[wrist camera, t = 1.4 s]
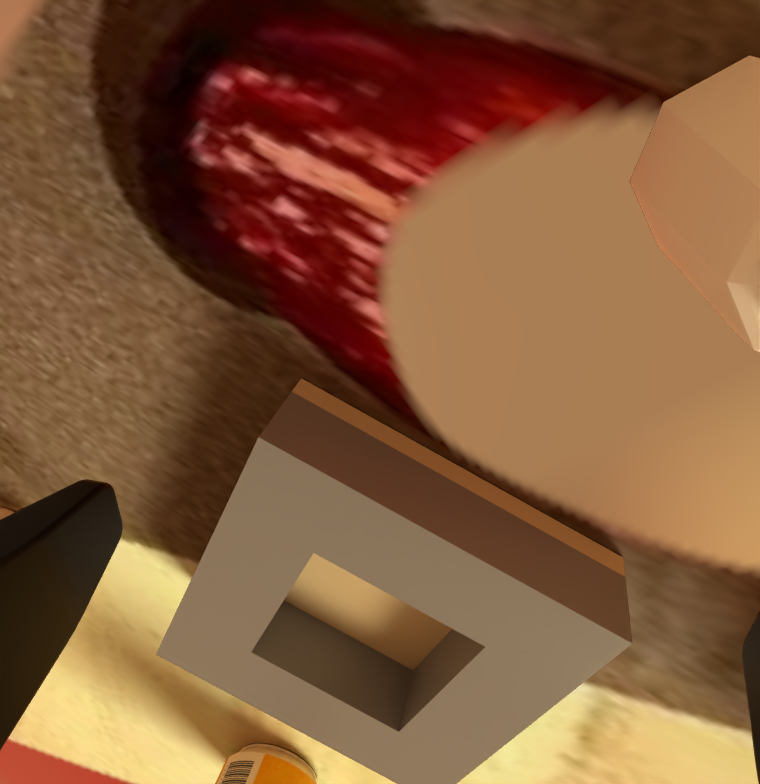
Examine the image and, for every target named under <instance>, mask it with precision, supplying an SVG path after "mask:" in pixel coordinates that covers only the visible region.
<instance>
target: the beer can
mask: <svg viewBox="0 0 760 784" xmlns="http://www.w3.org/2000/svg"><path fill="white" fill-rule="evenodd" d="M215 784H317V777H316V775H315V773H314V771H313V769H312V768H311V767H310V766H309V765H308V764H307V763H306V762H305V761H304V760H303V759H301V758H300V757H298V756H297V755H295V754H294V753H292V752H290V751H288V750H285V749H283V748H280V747H277V746H274V745H269V744H251V745H248V746H245V747H244V748H242V749H241V750H240V752H238V753H235V754H233V755H231V756H230V757H229V758H228V759H227V760H226V761H225V764H224V766H223V768H222V770H221V772H220V775H219V777H218V779H217V781H216V783H215Z"/></svg>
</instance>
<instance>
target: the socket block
mask: <svg viewBox="0 0 760 784" xmlns="http://www.w3.org/2000/svg"><path fill="white" fill-rule="evenodd" d="M631 644H632V636H631V626H630V617H629V607H628V598H627V588H626V579H625V570H624V560H623V557H621V556H619V555H618V554H616V553H614V552H612V551H610V550H609V549H607V548H605V547H603V546H601V545H600V544H598V543H596V542H594V541H592V540H591V539H589V538H587V537H585V536H583V535H582V534H580V533H578V532H576V531H574V530H573V529H571V528H569V527H567V526H565V525H564V524H562V523H560V522H558V521H557V520H555V519H553V518H551V517H549V516H548V515H546V514H544V513H542V512H540V511H539V510H537V509H535V508H533V507H531V506H530V505H528V504H526V503H524V502H522V501H521V500H519V499H517V498H515V497H513V496H512V495H510V494H508V493H506V492H504V491H503V490H501V489H499V488H497V487H496V486H494V485H492V484H490V483H488V482H487V481H485V480H483V479H481V478H479V477H478V476H476V475H474V474H472V473H470V472H469V471H467V470H465V469H463V468H461V467H460V466H458V465H456V464H454V463H452V462H451V461H449V460H447V459H445V458H443V457H442V456H440V455H438V454H436V453H434V452H433V451H431V450H429V449H427V448H426V447H424V446H422V445H420V444H418V443H417V442H415V441H413V440H411V439H409V438H408V437H406V436H404V435H402V434H400V433H399V432H397V431H395V430H393V429H391V428H390V427H388V426H386V425H384V424H382V423H381V422H379V421H377V420H375V419H373V418H372V417H370V416H368V415H366V414H365V413H363V412H361V411H359V410H357V409H356V408H354V407H352V406H350V405H348V404H347V403H345V402H343V401H341V400H339V399H338V398H336V397H334V396H332V395H330V394H329V393H327V392H325V391H323V390H321V389H320V388H318V387H316V386H314V385H312V384H311V383H309V382H307V381H305V380H304V379H302V378H301V379H300V381H299V382H298V383H297V385H296V386H295V388H294V389H293V390H292V392H291V393H290V394H289V396H288V397H287V399H286V400H285V401H284V403H283V404H282V405H281V407H280V408H279V410H278V411H277V412H276V414H275V415H274V416H273V418H272V419H271V421H270V422H269V423H268V425H267V426H266V428H265V429H264V430H263V432H262V433H261V434H260V436H259V437H258V439H257V441H256V444H255V446H254V448H253V450H252V452H251V454H250V456H249V458H248V460H247V463H246V465H245V467H244V469H243V471H242V473H241V475H240V477H239V480H238V482H237V484H236V486H235V488H234V490H233V492H232V494H231V497H230V499H229V501H228V503H227V505H226V507H225V509H224V511H223V514H222V516H221V518H220V520H219V522H218V524H217V526H216V528H215V530H214V533H213V535H212V537H211V539H210V541H209V543H208V545H207V547H206V550H205V552H204V554H203V556H202V558H201V560H200V562H199V564H198V567H197V569H196V571H195V573H194V575H193V577H192V579H191V581H190V584H189V586H188V588H187V590H186V592H185V594H184V596H183V598H182V600H181V603H180V605H179V607H178V609H177V611H176V613H175V615H174V617H173V620H172V622H171V624H170V626H169V628H168V630H167V632H166V634H165V637H164V639H163V641H162V643H161V645H160V647H159V649H158V651H157V654H156V655H158V656H160V657H162V658H164V659H166V660H167V661H169V662H171V663H173V664H175V665H177V666H179V667H180V668H182V669H184V670H186V671H188V672H190V673H192V674H194V675H195V676H197V677H199V678H201V679H203V680H205V681H207V682H208V683H210V684H212V685H214V686H216V687H218V688H220V689H222V690H223V691H225V692H227V693H229V694H231V695H233V696H235V697H236V698H238V699H240V700H242V701H244V702H246V703H248V704H250V705H251V706H253V707H255V708H257V709H259V710H261V711H263V712H264V713H266V714H268V715H270V716H272V717H274V718H276V719H278V720H279V721H281V722H283V723H285V724H287V725H289V726H291V727H292V728H294V729H296V730H298V731H300V732H302V733H304V734H306V735H307V736H309V737H311V738H313V739H315V740H317V741H319V742H321V743H322V744H324V745H326V746H328V747H330V748H332V749H334V750H335V751H337V752H339V753H341V754H343V755H345V756H347V757H349V758H350V759H352V760H354V761H356V762H358V763H360V764H362V765H363V766H365V767H367V768H369V769H371V770H373V771H375V772H377V773H378V774H380V775H382V776H384V777H386V778H388V779H390V780H391V781H393V782H395V783H397V784H456V783H458V782H459V781H460V780H461V779H463V778H464V777H465V776H466V775H468V774H469V773H470V772H471V771H473V770H474V769H475V768H476V767H478V766H479V765H480V764H482V763H483V762H484V761H485V760H487V759H488V758H489V757H490V756H492V755H493V754H494V753H495V752H497V751H498V750H499V749H500V748H502V747H503V746H504V745H505V744H507V743H508V742H509V741H510V740H512V739H513V738H514V737H515V736H517V735H518V734H519V733H520V732H522V731H523V730H524V729H526V728H527V727H528V726H529V725H531V724H532V723H533V722H534V721H536V720H537V719H538V718H539V717H541V716H542V715H543V714H544V713H546V712H547V711H548V710H549V709H551V708H552V707H553V706H554V705H556V704H557V703H558V702H559V701H561V700H562V699H563V698H564V697H566V696H567V695H568V694H570V693H571V692H572V691H573V690H575V689H576V688H577V687H578V686H580V685H581V684H582V683H583V682H585V681H586V680H587V679H588V678H590V677H591V676H592V675H593V674H595V673H596V672H597V671H598V670H600V669H601V668H602V667H603V666H605V665H606V664H607V663H609V662H610V661H611V660H612V659H614V658H615V657H616V656H617V655H619V654H620V653H621V652H622V651H624V650H625V649H626V648H627V647H629V646H630V645H631Z"/></svg>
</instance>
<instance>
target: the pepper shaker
mask: <svg viewBox="0 0 760 784" xmlns="http://www.w3.org/2000/svg"><path fill="white" fill-rule="evenodd" d="M630 183H631V186H632V188H633V190H634V193H635V195H636V197H637V200H638V202H639V204H640V206H641V209H642V211H643V213H644V215H645V218H646V220H647V222H648V225H649V227H650V229H651V232H652V234H653V236H654V239H655V241H656V243H657V245H658V247H659V248H660V249H661V250H662V251H663V252H664V253H665V255H666V256H667V257H668V258H669V259H670V260H671V261H672V262H673V263H674V265H675V266H676V267H677V268H678V269H679V270H680V271H681V272H682V274H683V275H684V276H685V277H686V278H687V279H688V280H689V281H690V283H691V284H692V285H693V286H694V287H695V288H696V289H697V291H698V292H699V293H700V294H701V295H702V296H703V297H704V298H705V299H706V301H707V302H708V303H709V304H710V305H711V306H712V307H713V308H714V310H715V311H716V312H717V313H718V314H719V315H720V316H721V317H722V319H723V320H724V321H725V322H726V323H727V324H728V325H729V326H730V327H731V329H732V330H733V331H734V332H735V333H736V334H737V335H738V336H739V337H740V338H741V339H742V340H743V341H744V342H745V343H746V344H748V345H749V346H750V347H751V348H752V349H753V350H755V351H758V352H760V58H757V57H753V56H747V57H745V58H744V59H742V60H740V61H738V62H736V63H734V64H733V65H731V66H729V67H727V68H725V69H723V70H722V71H720V72H718V73H716V74H714V75H712V76H711V77H709V78H707V79H705V80H703V81H701V82H700V83H698V84H696V85H694V86H692V87H690V88H689V89H687V90H685V91H683V92H681V93H679V94H678V95H676V96H674V97H672V98H670V99H668V100H667V101H665V102H663V104H662V107H661V109H660V111H659V114H658V116H657V118H656V121H655V123H654V125H653V128H652V130H651V132H650V135H649V137H648V140H647V142H646V144H645V146H644V149H643V151H642V153H641V156H640V158H639V160H638V163H637V165H636V167H635V169H634V172H633V174H632V177H631V179H630Z"/></svg>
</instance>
